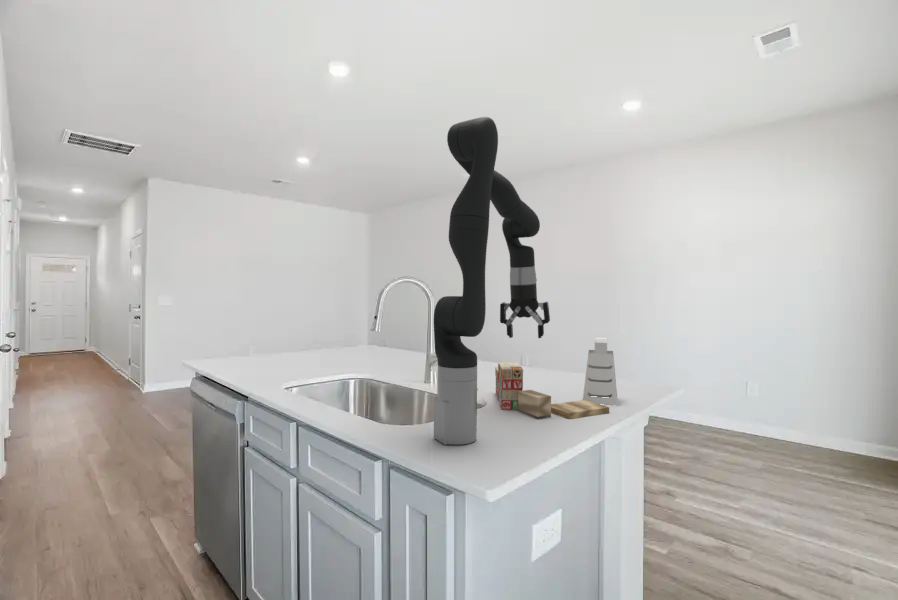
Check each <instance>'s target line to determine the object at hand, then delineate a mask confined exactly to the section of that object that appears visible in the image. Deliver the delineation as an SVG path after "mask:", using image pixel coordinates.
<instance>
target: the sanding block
mask: <svg viewBox="0 0 898 600" xmlns="http://www.w3.org/2000/svg"><path fill="white" fill-rule="evenodd" d="M551 404H552V395H549V394H545V393H542V392H539V391H537V390H534V389H528V390H527V389H526V390H522V391H518V410H517V412H519V413H521V414H524V415H526V416H529V417H530V418H534V419H536V420H543V419H549V418H552V413H551Z"/></svg>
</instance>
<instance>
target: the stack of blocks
mask: <svg viewBox="0 0 898 600" xmlns="http://www.w3.org/2000/svg"><path fill="white" fill-rule="evenodd" d="M494 370H495V395H496V398H497V399H496V400H497V401H498V403H499V407H500V411H501V410H502V411H518V391H524V387H523V386H524V369H523V367H522V366H521V365H520V364H519V363H518V362H510V361H509V362H508V361H507V362H503V361H501V362H499V361H498V363H497V366H496V367H495V369H494Z"/></svg>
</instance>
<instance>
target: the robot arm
mask: <svg viewBox="0 0 898 600" xmlns="http://www.w3.org/2000/svg"><path fill="white" fill-rule="evenodd" d="M498 132H499V131H498V127H497V124H496V123H495V120H493V119H492V118H491V117H488V116H483V117H482V116H481V117H476V118H473V119H469V120H464V121H461V122H458V123H454V124H452V126H450V127H449V129H448V132H447V137H446V139H447V140H446V142H447V146H448V150H449V152H450V154H451V155H452V156H453V158H454V159H455V161H456V162H457V163H458V164H459V165H460V166H461V167H462V169H463V170H465V172H466V173H467V174H468V175H469V176H468V179H467V181H466V183H465V185H464V186H463V188H462V189H461V191H460V193H459V194H458V195H457V197H456V199H455V201H454V203H453V205H452V208H451V210H450V214H449V224H448V241H449V245H450V248H451V250H452V253H453V255H454V257H455V260H456V261H457V262H458V266H459V268H460V270H461V274H462V295H458V296H457V295H451V296H450V295H449V296H447V295H446V296H442V297H440V298H439V299H438V301H437V303H436V305H435V307H434V312H433V338H434V352H435V355H436V359H437V384H436V385H437V389H436V390H437V394H436V396H435V397H434V398H433V438H434V439H436V440H437V441H438V442H440V443H442V444H443V445H444V446H448V445H456V446H457V445H468V444H472V443H474V442H476V440H477V431H478V429H477V424H478V423H477V422H478V418H477V416H478V412H477V411H478V409H477V408H478V354H477V353H476V352H475V351H473V350H472V349H470V348H468V347H467V346H466V345H465V344H464V343H463V342H462V338H461V337H466V338H468V337H469V338H474V337H477V336H479V335H480V334H481V333H482V330H483V329H484V326H485V322H486V308H487V307H486V265H487V263H486V261H487V248H488V238H489V227H490V226H489V225H490V208H491V203H492V205H493V206H494V208H495V210H496V212H497V213H498V215H500V217H501V218H503V220H502V223H501V227H502V232H503V233H502V234H503V236H504V239H505V242H506V245H507V250H508V254H509V265H510V266H509V286H510V287H509V288H510V302H502V303H500V304H499V305H500V307H499V322H500V324H503V325H504V324H505V325H506V335H507V337H509V339H511V338H513V337H514V328H513V322H514V320H515V319H516V318H517V317H518V318H521V319H522V318H531V317H532V319H533V320H534V321H535V322H536V323H537V324H538V325H537V337H538V339H542V337H543V336H544V334H545V332H544V330H545V328H544V327H545V326H544V325H545V324H549V322H550V321H551V318H550V317H551V316H550V305H549V302H548V301H544V302H539V301H538V294H537V291H538V290H537V282H538V281H537V279H538V278H537V272H536V267H535V266H536V265H535V262H536V261H535V249H534V247H532V246H530V245H524V244H522V242H521V241H520V238H521V239H523V238H533V237H534V236H536V235H537V234H538V233H539V231H540V227H541V226H540V225H541V223H540V219H539V217H538V214H536V212H535V211H534V210H533V208H531V207H530V205H528V204H526V202H524V201H523V200H522V198H521V197H520V195H519V194H518V191H517V190H516V188H515V186H514V185H513V184H512V182H511V181H510V180H509V179H508V178H506V177H505V176H504V175H503V174H501V173H499V172H498V171H497V170H495V166H496V161H497V160H496V159H497V155H498V147H499V146H498V145H499V133H498ZM509 308H510V310H511V311H512V314H511V315H510V317H508V319H507V311H508V310H509ZM538 308H540V309H541V310H542V311H543V318H541V316H540V314H539V313H538V312H537V310H538Z"/></svg>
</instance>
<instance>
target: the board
mask: <svg viewBox="0 0 898 600" xmlns="http://www.w3.org/2000/svg"><path fill="white" fill-rule="evenodd" d="M609 413H610V406H607V405H600V404H596V403H593V402H590V401H586V400H583V399H581V400H574V401H573V400H571V401H567V402H566V401H564V402H558V403H551V414H553V415H555V416H556V415H557V416H559V417H563V418H565V419H568V420H570V419H571V420H573V419H578V418H585V417H590V416H591V415H592V416H598V414H599V415H605V414H609ZM592 416H591V417H592Z"/></svg>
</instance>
